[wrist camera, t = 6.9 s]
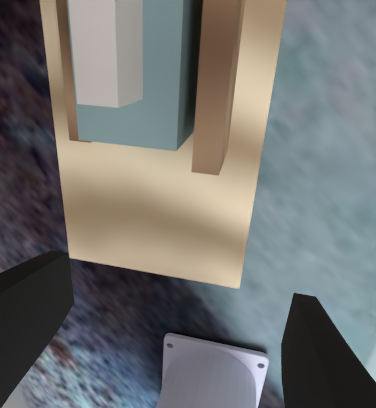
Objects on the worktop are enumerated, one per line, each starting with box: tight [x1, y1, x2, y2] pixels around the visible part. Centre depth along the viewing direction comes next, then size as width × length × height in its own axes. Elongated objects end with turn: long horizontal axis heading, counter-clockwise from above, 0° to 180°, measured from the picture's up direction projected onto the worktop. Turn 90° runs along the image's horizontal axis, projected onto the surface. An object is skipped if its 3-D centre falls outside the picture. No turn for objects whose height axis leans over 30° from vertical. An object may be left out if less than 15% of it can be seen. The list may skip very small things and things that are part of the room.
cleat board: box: [40, 0, 287, 289], centre depth 16 cm, size 20×12×5 cm, turn 177°
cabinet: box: [67, 0, 203, 151], centre depth 13 cm, size 8×5×6 cm, turn 177°
